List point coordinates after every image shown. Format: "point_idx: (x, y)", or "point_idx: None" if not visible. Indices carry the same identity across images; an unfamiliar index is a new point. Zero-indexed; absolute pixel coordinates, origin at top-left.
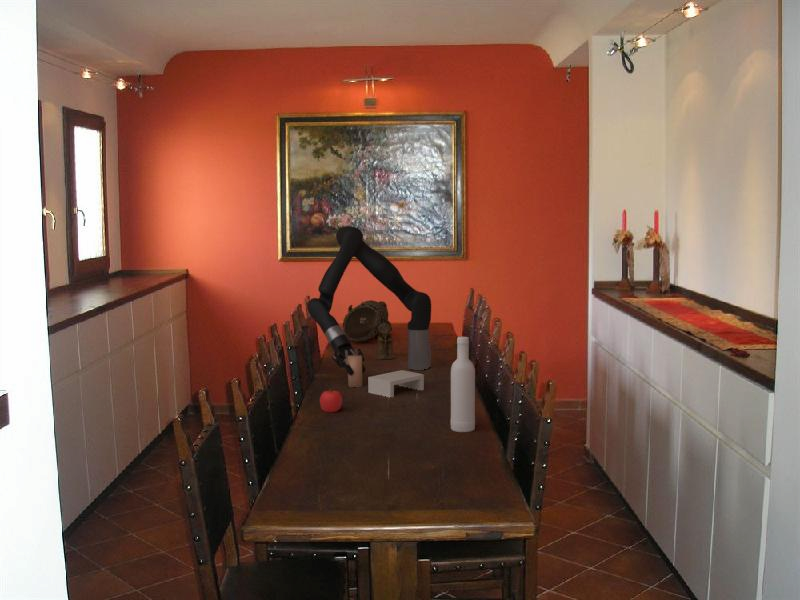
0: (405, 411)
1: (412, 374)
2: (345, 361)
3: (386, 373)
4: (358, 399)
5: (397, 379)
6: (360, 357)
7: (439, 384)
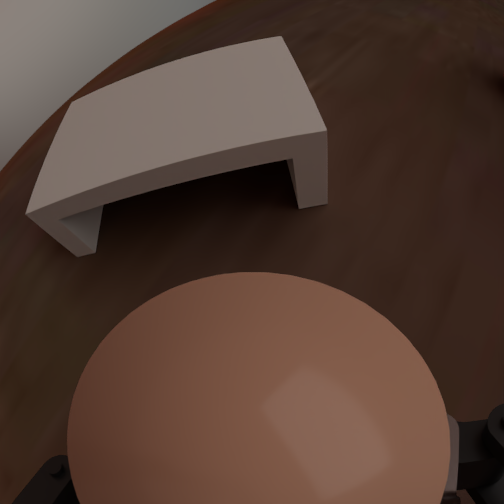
0: (337, 17)
1: (89, 110)
2: (455, 476)
3: (138, 171)
4: (428, 130)
5: (220, 52)
6: (192, 292)
7: (21, 194)
